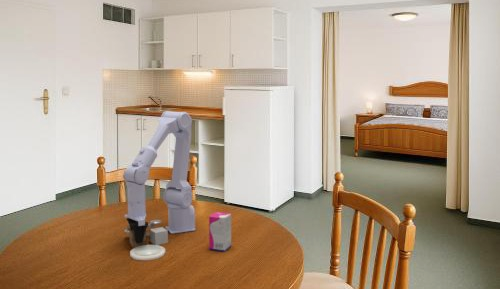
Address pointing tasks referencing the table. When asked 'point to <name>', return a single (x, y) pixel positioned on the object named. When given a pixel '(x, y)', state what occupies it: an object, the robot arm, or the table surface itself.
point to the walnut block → (133, 242)
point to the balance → (152, 223)
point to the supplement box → (220, 231)
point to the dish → (147, 252)
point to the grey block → (158, 236)
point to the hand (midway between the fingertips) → (137, 240)
